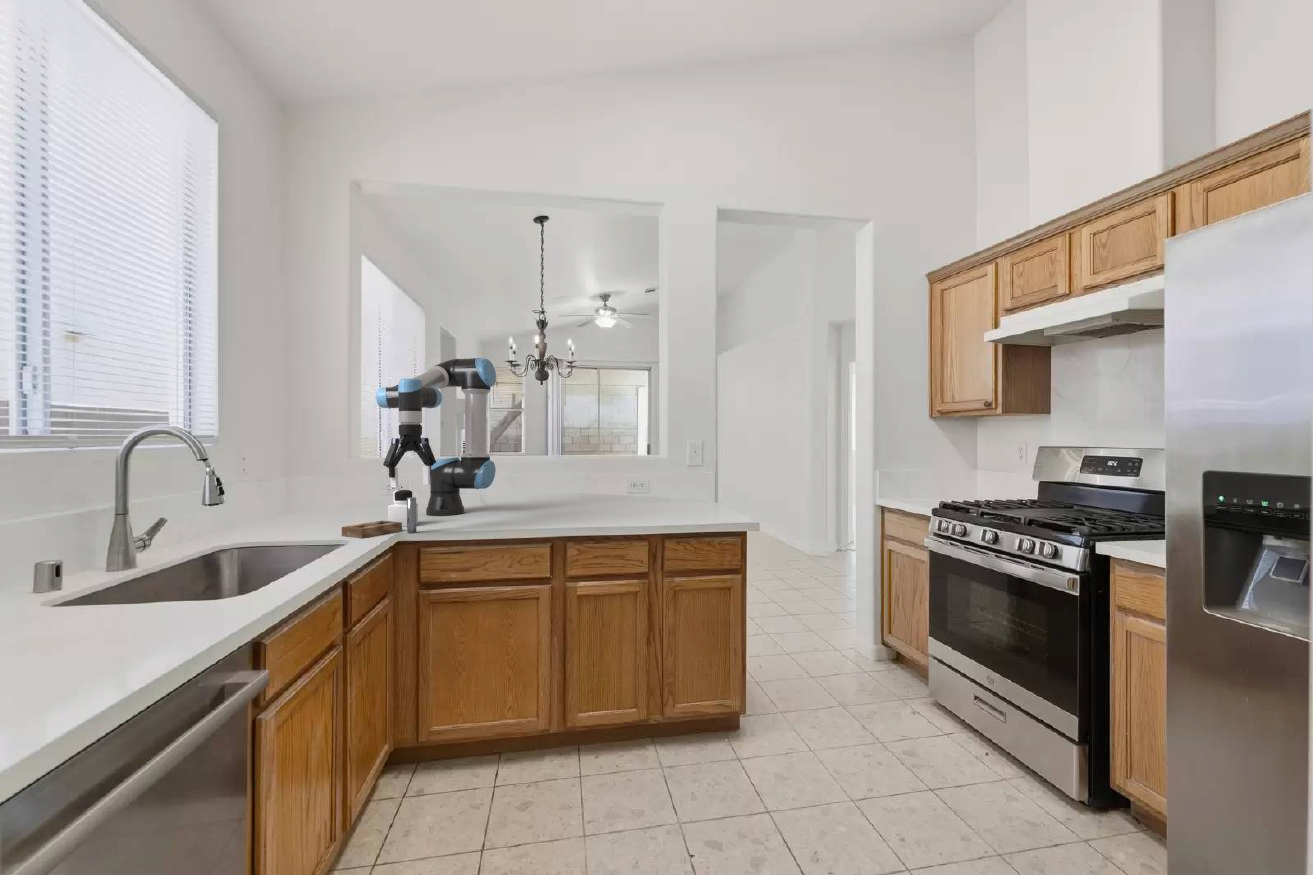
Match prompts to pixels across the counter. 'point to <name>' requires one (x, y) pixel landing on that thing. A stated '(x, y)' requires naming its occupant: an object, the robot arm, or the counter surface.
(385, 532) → the hole block
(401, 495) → the container
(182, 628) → the counter surface
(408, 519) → the pin
